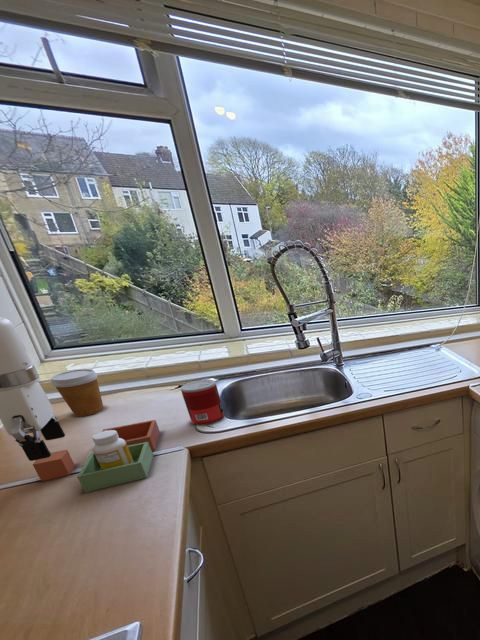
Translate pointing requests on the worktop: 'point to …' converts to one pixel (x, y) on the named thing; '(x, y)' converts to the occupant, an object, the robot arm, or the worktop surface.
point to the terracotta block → (54, 465)
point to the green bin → (116, 469)
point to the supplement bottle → (111, 450)
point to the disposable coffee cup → (79, 391)
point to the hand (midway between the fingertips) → (48, 448)
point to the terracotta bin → (139, 433)
